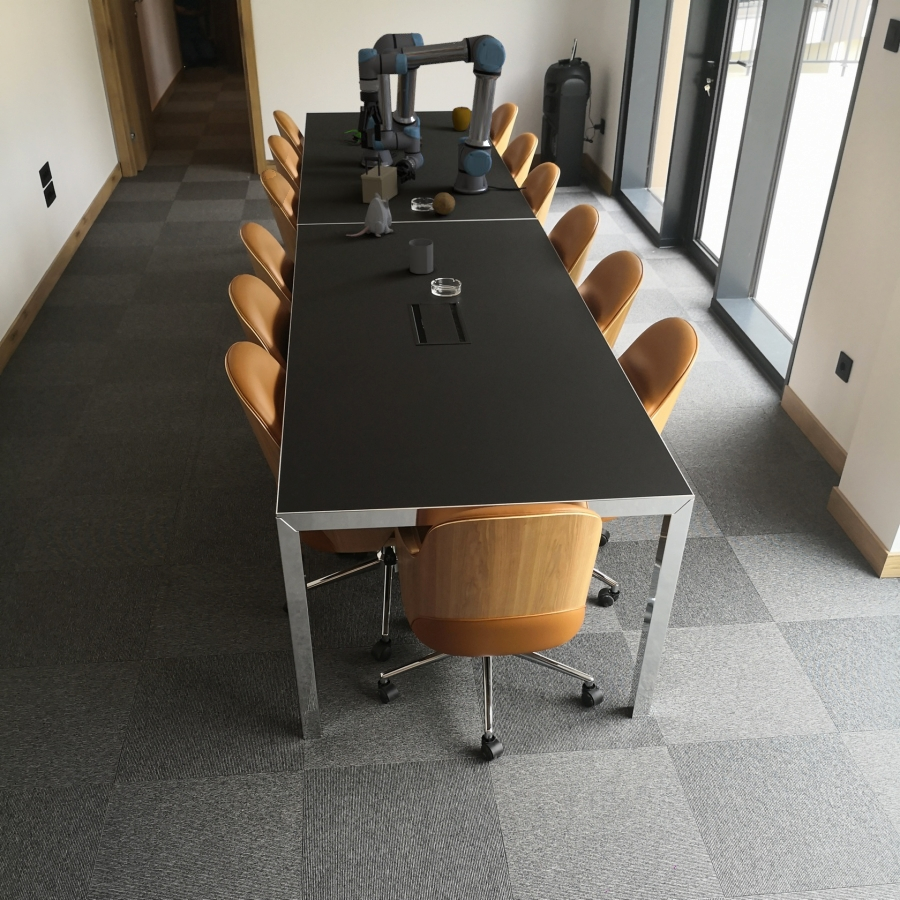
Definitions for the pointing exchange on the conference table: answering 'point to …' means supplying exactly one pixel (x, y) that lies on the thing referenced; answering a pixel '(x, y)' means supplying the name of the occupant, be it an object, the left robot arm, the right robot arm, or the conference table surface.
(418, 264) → the cup
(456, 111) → the apple
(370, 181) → the chest
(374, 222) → the toy
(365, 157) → the lid
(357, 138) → the green dinosaur
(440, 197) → the potato
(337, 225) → the conference table surface
